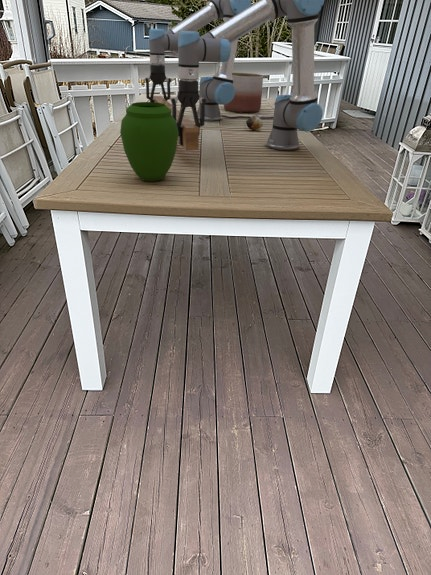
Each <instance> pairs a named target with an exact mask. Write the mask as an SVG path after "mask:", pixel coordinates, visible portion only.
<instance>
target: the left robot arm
mask: <svg viewBox="0 0 431 575" xmlns="http://www.w3.org/2000/svg"><path fill="white" fill-rule="evenodd" d="M250 6H252V0H208V1H207V2H206V5H205V6H203V7H201V8H200V9H199V10H196V12H194V13H192V14H191V15H189V16H188V17H186V18H185V19H183V20H181V21H180V22H179V23H177V24H175V25H174V26H172V27H170V28H169V29H168V30H166V31H165V29H163V28H149V29H148V30H149V31H148V44H149V45H148V46H149V64H150V65H149V70H150V72H149V73H150V74H149V76H148V77H144V82H145V91H146V92H145V97H146V99H147V100H149V102H154V100H153V96H155V91H156V87H157V86H160V88H161V92H162V97H163V98H164V99H165V100H166V101H169V100H171V98H172V96H171V82H172V79H171V78H170V77H168V76H166V66H165V64H166V56H165V55H166V52H177V53H178V36H179V32H180V31H196V32H198V30H200V29H202V28H204V27H205V26H207V25H208V24H210V23H211V22H213V21H214V22H217V21H218V20H220V19H222V20H223V23H224V22H225V21H227V20H229V19H230V18H232V17H234V16H235V15H237V14H239V13H240V12H242V11H243V10H245V9H247V8H248V7H250ZM238 42H239V39H237V40H235V41H234V42H232V43H230V45H231V55H230V58H229V60H228V61H227V62H221V63H219V62H217V68H216V73H215V74H213V76H202V77H200V79H199V96H200V97H201V98H205V99H206V102H205V114H204V122H218V121H221V120H222V118H225V119H249V118H250V117H251V116H247V115H246V116H245V115H237V116H236V115H235V116H229V115H223V114H221V110H220V107H219V105H222V106H224V105H226V104H228V103H230V102H231V101H232V100H233V98H234V96H235V88H234V86H233V81H234V79H233V78H232V73H233V70H234V64H235V59H236V53H237V49H238ZM150 80H151V83H152V86H151V91H150ZM165 82H166V89H165V84H164V83H165ZM166 91H167V92H166ZM198 104H199V105H198V107H197V115H198V119H199V121H200V103H198ZM259 117H260V119H261V120H269V119H273V118H274V116H259Z"/></svg>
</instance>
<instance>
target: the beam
mask: <svg viewBox="0 0 431 575" xmlns="http://www.w3.org/2000/svg"><path fill="white" fill-rule="evenodd" d="M153 100H154V102H156V103H162V104H165V105H166V106H167V107H168V108H169V109H171V115H172V103H170V102H169V100H167V101H166V100H165V99H164V96H163V95H154V96H153ZM179 112H180V110H178V108H176V123H177V121H178V116H179ZM181 127H182V128H183V145H180V146H181V147H182V148H183V149H184V150H185V151H187V152H188V151H199V147H200V146H199V141H200V140H199V138H200V135H199V127H198V126H196V125H195V122H193V121H192V120H191V119H189V118H188V117H187V116H186V115H185V114H184V115H183V119H182V124H181ZM177 143H179V136H178V141H177Z"/></svg>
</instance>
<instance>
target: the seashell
mask: <svg viewBox="0 0 431 575" xmlns="http://www.w3.org/2000/svg"><path fill="white" fill-rule="evenodd" d="M249 117H250V118H247V119H246V121H245V123H246V126H247V127H246V128H248V129H249V130H251V131H257V130H260V129H261V128H262V127H263V126H264V123H263V119H260V117H261V116H259V114H255V115H252V116H249Z"/></svg>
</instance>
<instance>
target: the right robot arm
mask: <svg viewBox="0 0 431 575" xmlns="http://www.w3.org/2000/svg"><path fill="white" fill-rule="evenodd" d="M324 3H325V0H258V1H257V2H255V3H253V4H251V6H250V7H248V8H247V9H245V10H243V11H242V12H240V13H239V14H237V15H235V16H234V17H232V18H230V19H229V20H227V21H225V22H224V21H223V22H222V23H220V25H217V26H216V27H214V28H212V29H211V30H209V31H208V32H205V33H204V34H202V35H201V36H200V32H199V31H180V32H179V36H178V52H177V59H178V62H177V63H178V64H177V66H178V69H177V72H178V73H177V75H178V76H177V78H178V79H179V80H178V82H177V83H178V89H177V90H178V92H177V95H176V96H175V97H171V98H170V102H171V103H170V104H171V105H172V116H173V118H174V119H175V120H176V109H177V104H178V102H179V103H180V108H179V111H180V112H179V116H178V121H177V128H178V133H179V134H178V136H179V142H178V145H180V146H181V145H183V128H182V127H181V124H182V119H183V115H184V116H185V111H186V108H191V111H192V116H193V120H194V124H195V125H196V126H198V127H199V136H200V135H201V132H200V131H201V127H204V126H205V121H204V114H205V102H206V99H205V98H201V97H200V96H199V95H200V93H199V87H200V85H199V84H200V81H198V80H200V79H199V78H200V77H199V76H200V75H199V74H200V73H199V72H200V70H199V69H200V68H199V67H200V63H218V62H219V63H221V62H227V61H228V60H229V58H230V55H231V45H230V43H232V42H234V41H235V40H237V39H238V40H239V39H240V38H242V37H244V36H246V35H247V34H248V33H250V32H252V31H254V30H255V29H256V28H259V27H260V26H262V25H264V24H265V23H267V22H269V21H270V22H274V21H276V20H277V19H279V18H283V17H287V20H286V22H287V25H289V27H290V28H291V59H292V64H291V65H292V94H278V95H276V97H275V102H274V110H273V117H274V118H272V127H271V128H272V129H271V131H270V134H269V136H268V138H267V141H266V147H267V148H268V149H272V150H277V151H286V152H287V151H297V150H298V149H299V146H300V140H299V135H298V131H300V132H306V133H307V132H312V131H313V130H315V129H317V127H318V126H319V125H320V124H321V122H322V120H323V115H324V110H323V107H322V106H321V105H320V104H319V103H318V102H319V101H318V96H319V95H318V94H317V92H316V91H315V24H316V23H317V22H318V20H319V12H320V11H321V10H322V7H323V6H324ZM198 102H199V103H200V120H199V119H198V115H197V111H198V109H197V103H198ZM199 103H198V104H199Z"/></svg>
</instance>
